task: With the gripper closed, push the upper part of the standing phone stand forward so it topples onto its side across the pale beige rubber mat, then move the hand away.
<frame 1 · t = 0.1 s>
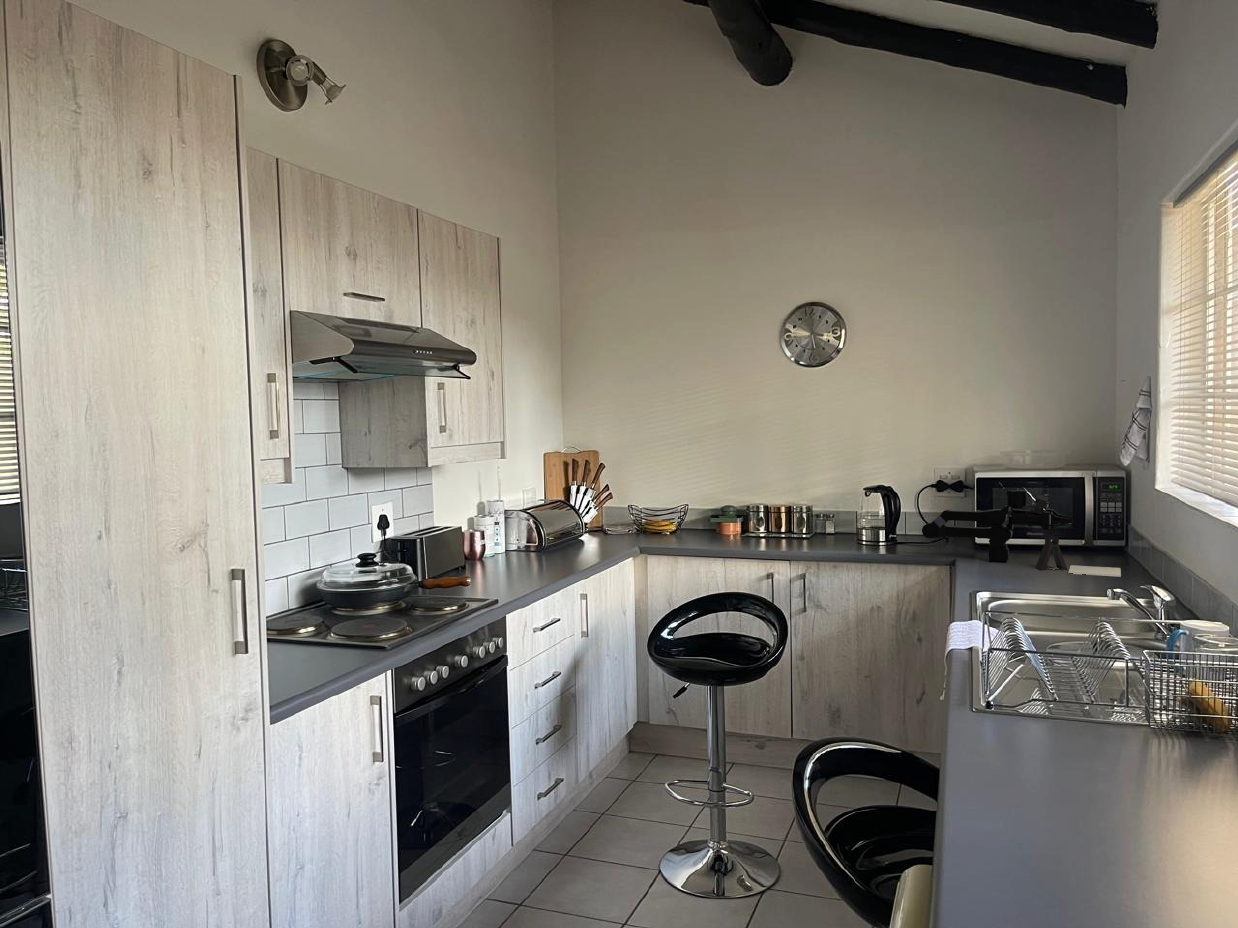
hand: (1072, 519, 356), 17 cm above the countertop, tool horizontal, fingers open, 9 cm apart
phone stand: (1051, 569, 347), on the countertop
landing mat: (1094, 571, 340), on the countertop
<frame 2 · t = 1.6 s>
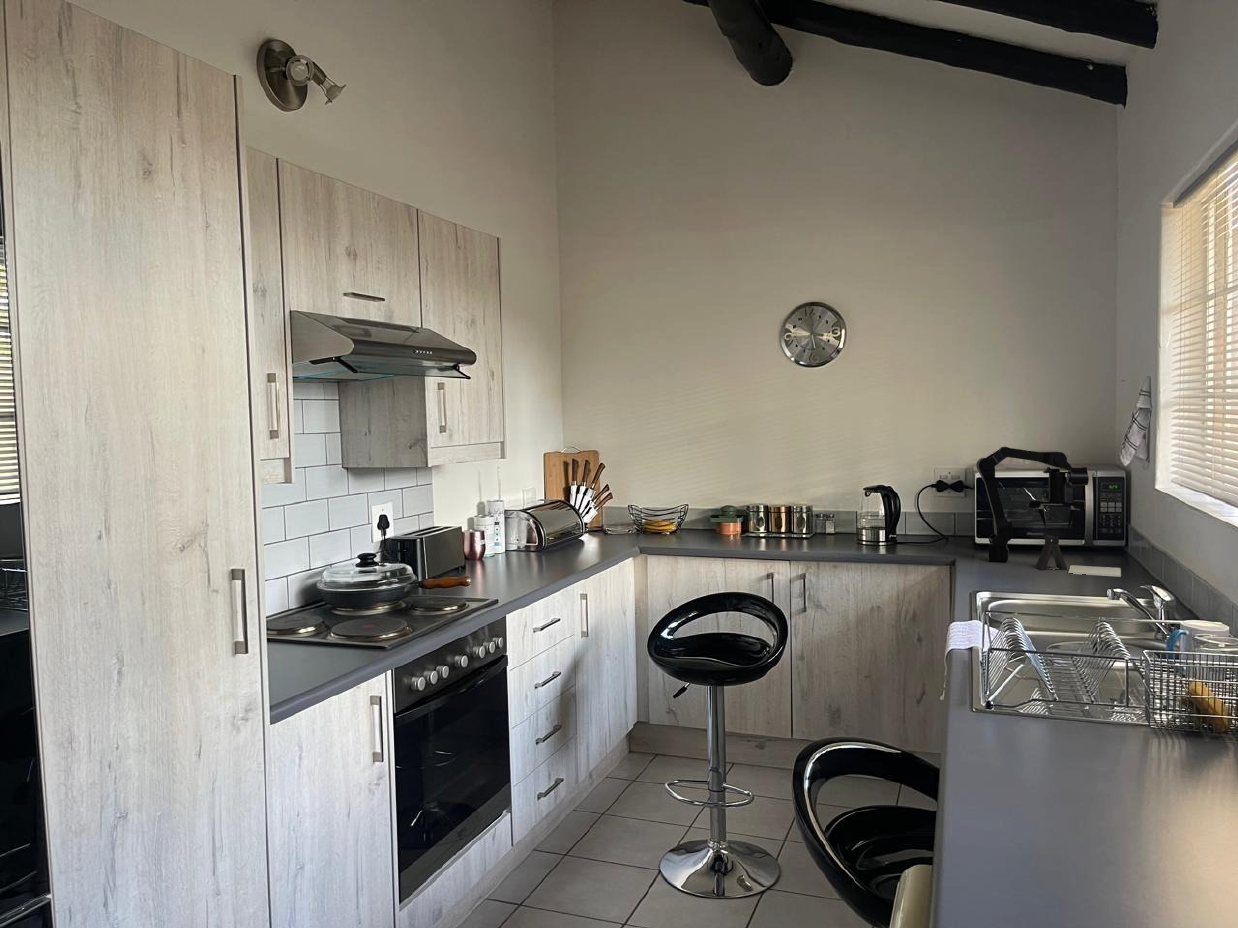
hand: (1057, 527, 363), 13 cm above the countertop, tool pointing down, fingers open, 8 cm apart
nothing on the countertop moved.
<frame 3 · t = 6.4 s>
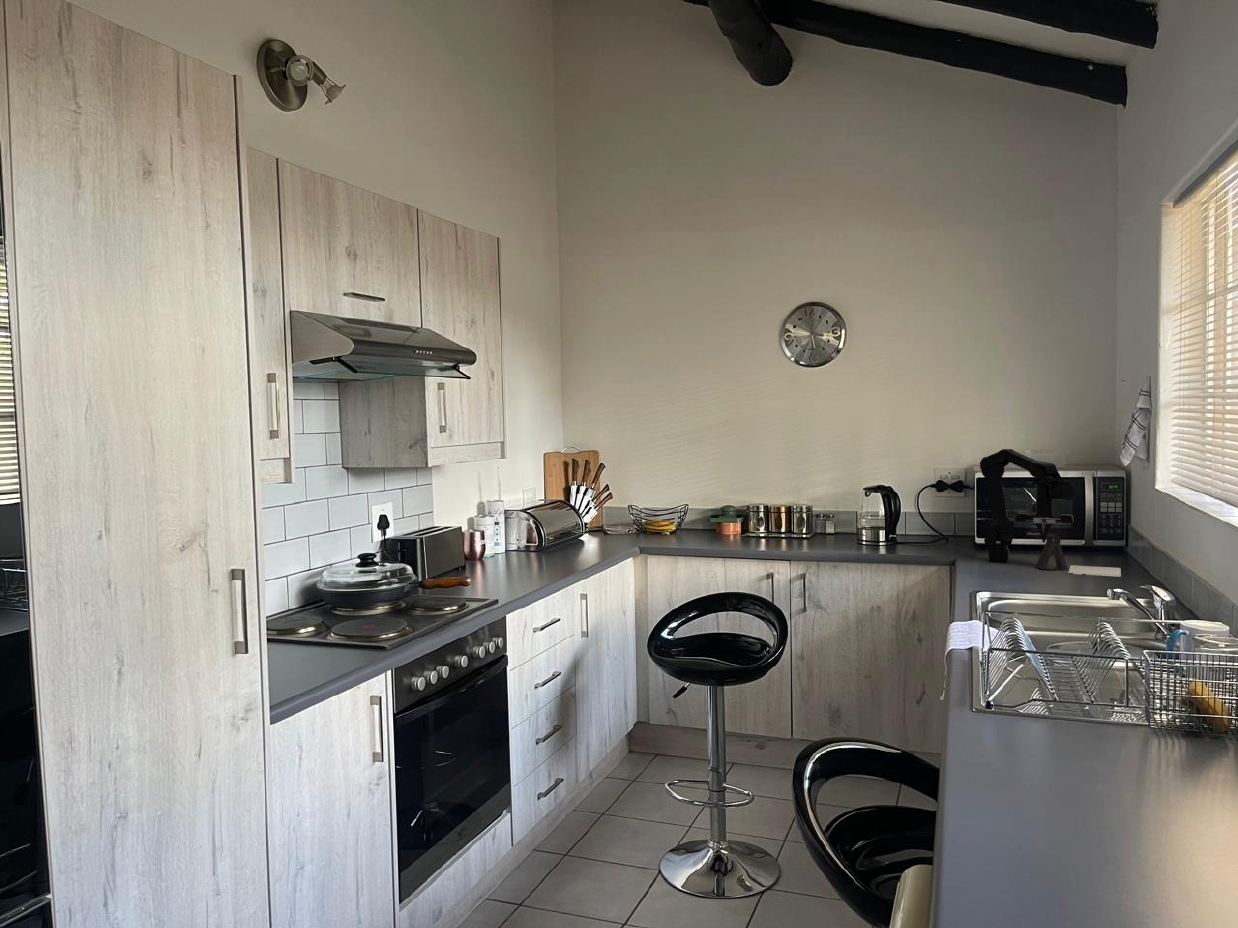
hand: (1043, 542, 348), 9 cm above the countertop, tool pointing down, fingers closed
phone stand: (1051, 569, 347), on the countertop, touching gripper
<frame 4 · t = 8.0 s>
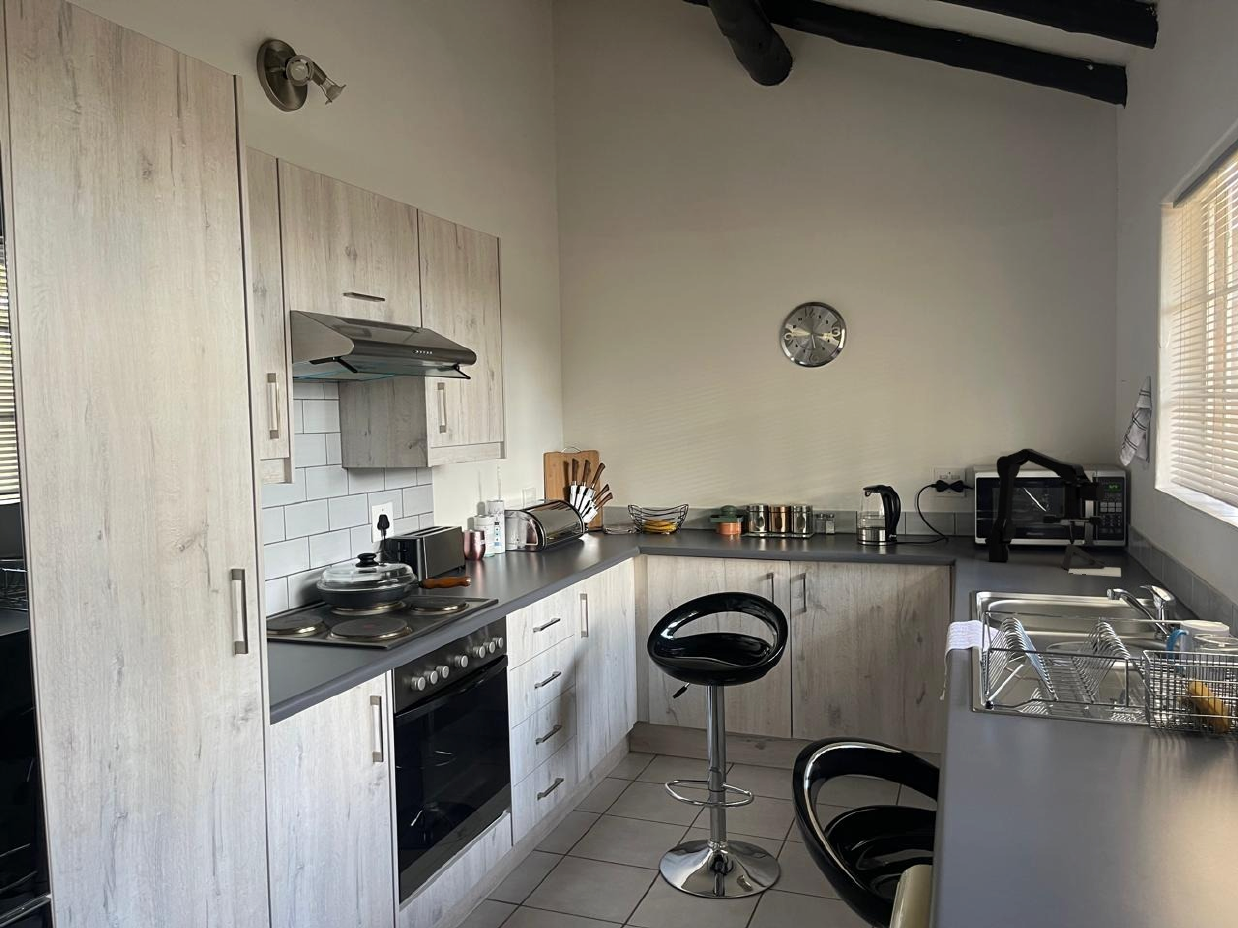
hand: (1072, 544, 343), 9 cm above the countertop, tool pointing down, fingers closed
phone stand: (1067, 556, 346), point 5 cm above the countertop, touching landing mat
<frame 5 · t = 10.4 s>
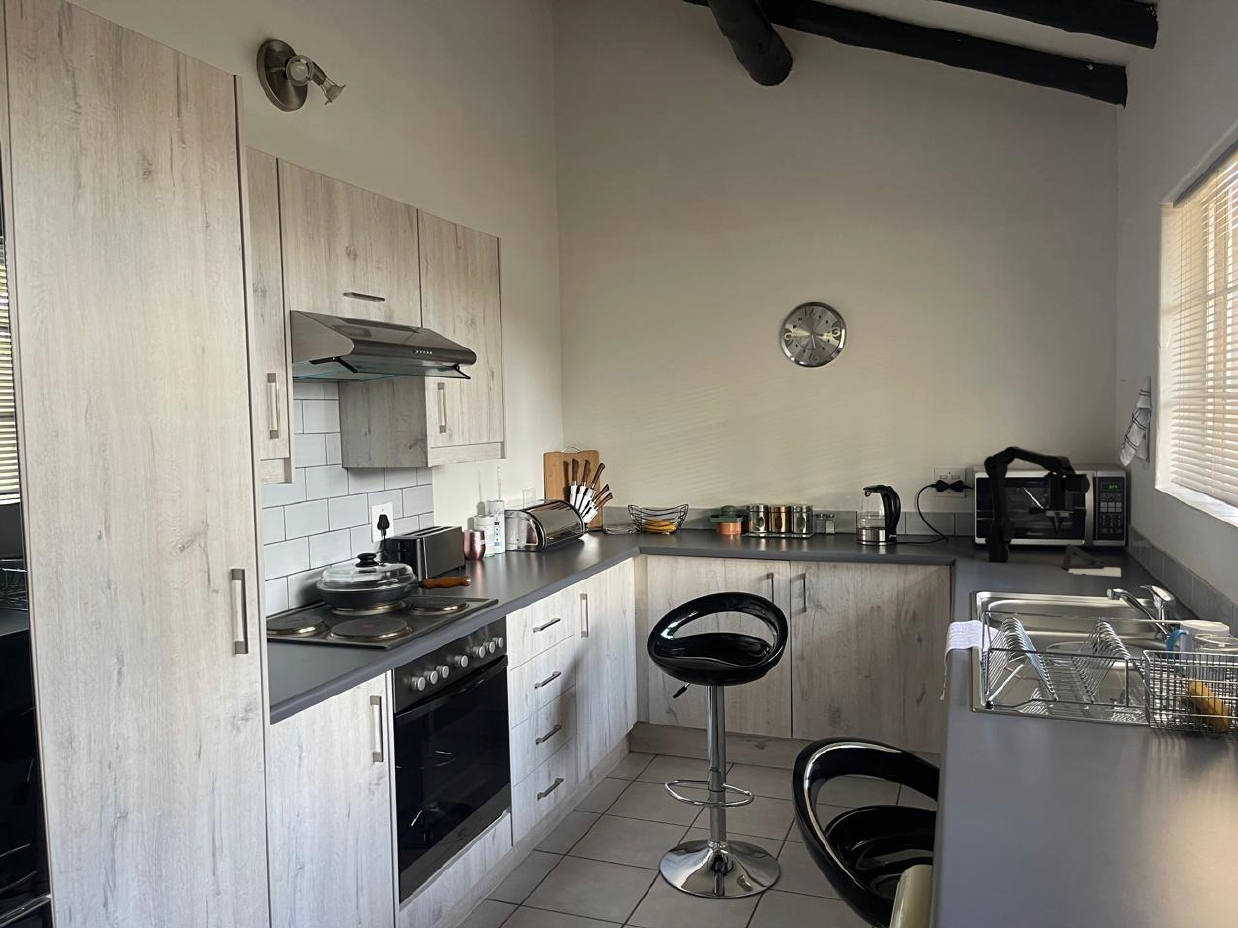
hand: (1056, 535, 348), 12 cm above the countertop, tool pointing down, fingers closed
nothing on the countertop moved.
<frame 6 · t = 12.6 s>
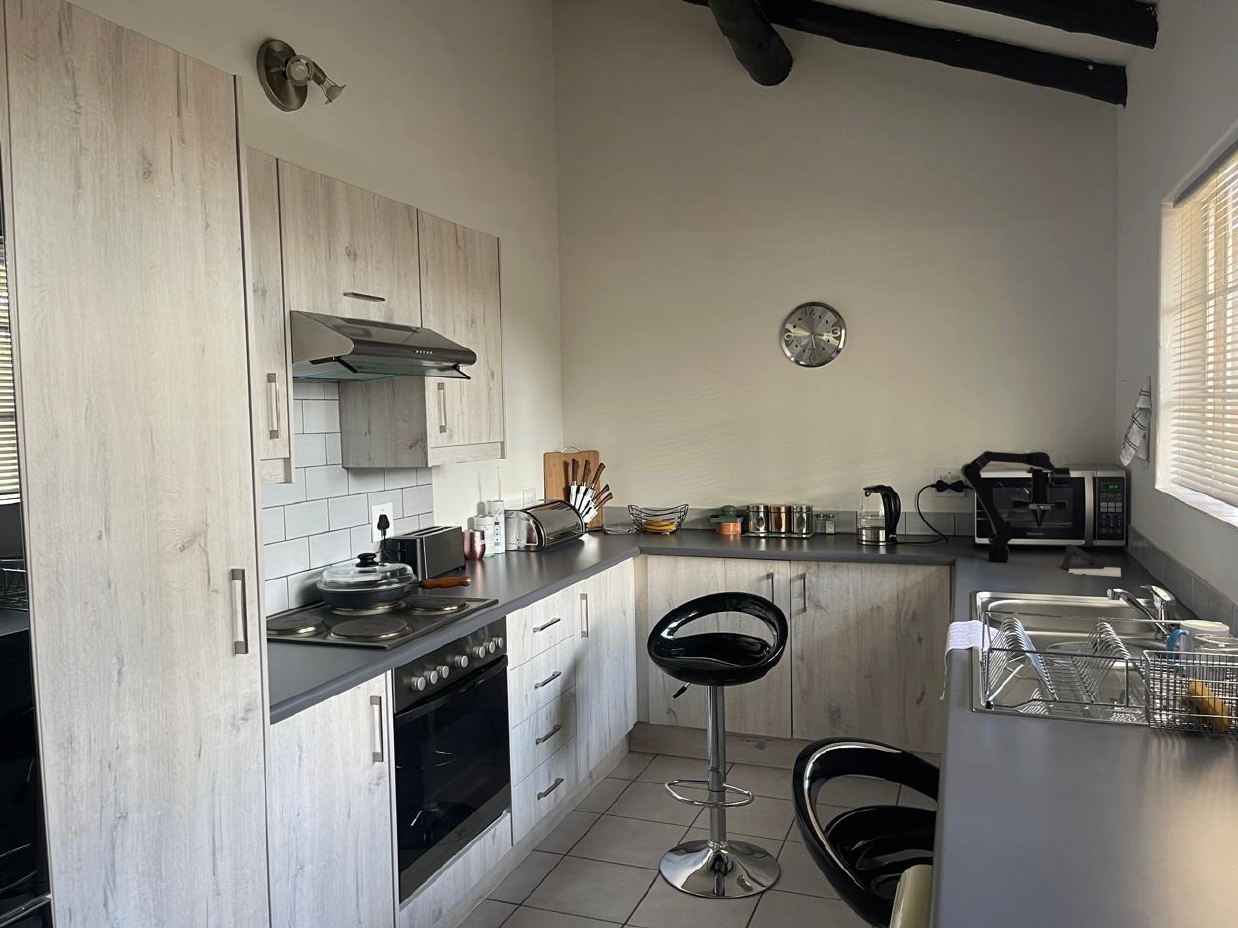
hand: (1039, 527, 365), 13 cm above the countertop, tool pointing down, fingers closed
nothing on the countertop moved.
at the end: phone stand tilted 103°; phone stand inside the target area (4.9 cm from its centre), point 4.5 cm above the countertop; phone stand touching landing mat, countertop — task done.
